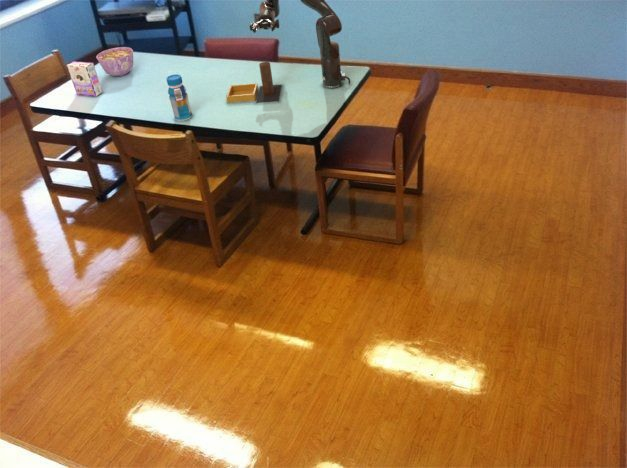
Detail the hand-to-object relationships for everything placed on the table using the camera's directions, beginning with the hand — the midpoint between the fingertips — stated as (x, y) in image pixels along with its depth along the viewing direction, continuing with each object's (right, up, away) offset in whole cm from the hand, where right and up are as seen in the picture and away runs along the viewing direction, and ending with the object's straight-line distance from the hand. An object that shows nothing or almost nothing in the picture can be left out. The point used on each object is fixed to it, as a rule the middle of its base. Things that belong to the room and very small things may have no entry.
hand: (263, 29), depth 286 cm
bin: (-11, -30, +9) cm, 33 cm away
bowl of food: (-85, -7, +51) cm, 99 cm away
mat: (+2, -29, +8) cm, 30 cm away
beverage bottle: (-37, -43, -4) cm, 57 cm away
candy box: (-94, -23, +32) cm, 102 cm away
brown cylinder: (+2, -29, +8) cm, 30 cm away
